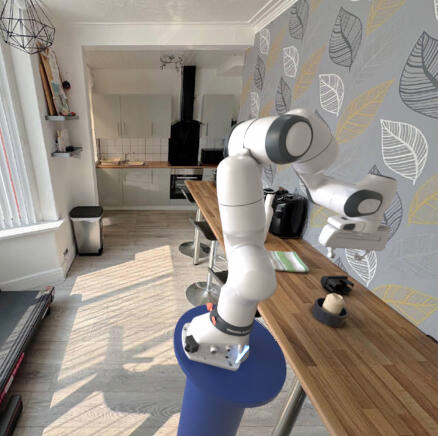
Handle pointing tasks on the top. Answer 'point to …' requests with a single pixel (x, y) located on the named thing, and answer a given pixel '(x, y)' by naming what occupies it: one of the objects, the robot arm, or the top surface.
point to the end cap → (336, 284)
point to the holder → (328, 314)
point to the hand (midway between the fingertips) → (343, 258)
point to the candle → (333, 304)
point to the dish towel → (287, 261)
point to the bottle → (268, 213)
